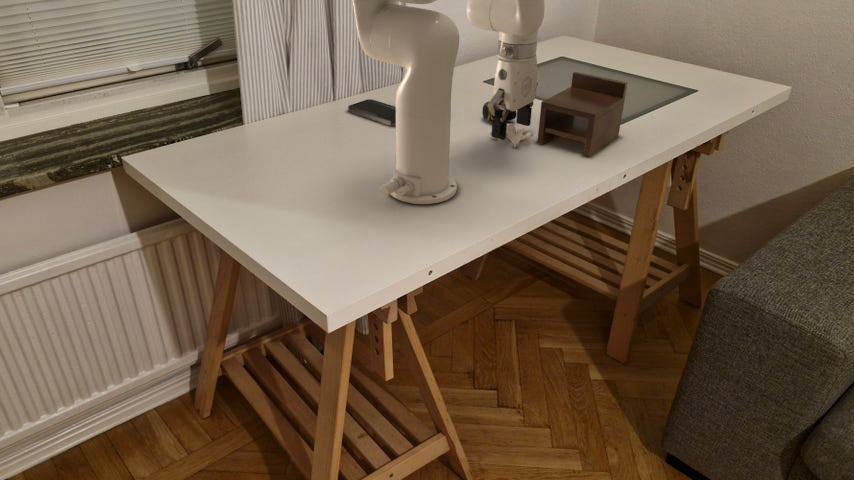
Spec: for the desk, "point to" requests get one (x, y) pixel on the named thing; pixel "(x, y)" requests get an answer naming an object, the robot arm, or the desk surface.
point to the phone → (375, 111)
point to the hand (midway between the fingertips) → (511, 131)
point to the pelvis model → (515, 134)
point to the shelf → (584, 112)
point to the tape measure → (510, 115)
